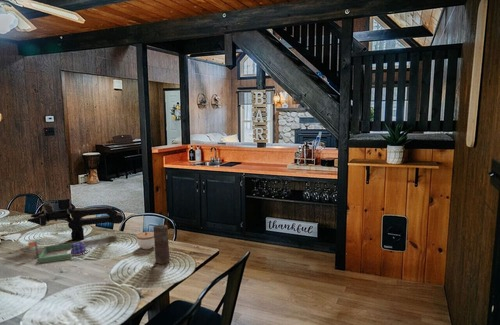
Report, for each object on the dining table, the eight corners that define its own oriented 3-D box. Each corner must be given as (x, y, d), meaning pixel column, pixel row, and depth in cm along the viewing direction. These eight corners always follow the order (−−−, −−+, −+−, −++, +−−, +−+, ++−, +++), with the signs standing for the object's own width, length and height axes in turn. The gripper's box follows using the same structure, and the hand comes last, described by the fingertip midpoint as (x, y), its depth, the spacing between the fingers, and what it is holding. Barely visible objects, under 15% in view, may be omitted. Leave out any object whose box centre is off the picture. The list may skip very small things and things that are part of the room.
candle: (152, 262, 182) (150, 226, 179) (161, 257, 189) (160, 222, 186) (163, 265, 179) (161, 228, 176) (172, 260, 185) (171, 224, 182)
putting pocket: (74, 246, 205) (73, 232, 204) (71, 258, 188) (69, 242, 187) (33, 252, 197) (31, 237, 196) (26, 264, 181) (24, 248, 179)
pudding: (84, 246, 206) (83, 238, 205) (94, 251, 199) (93, 242, 198) (63, 252, 197) (62, 244, 196) (72, 258, 189) (71, 249, 189)
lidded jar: (158, 244, 208) (158, 229, 207) (152, 251, 198) (151, 235, 197) (141, 243, 209) (140, 228, 208) (134, 250, 199) (133, 234, 198)
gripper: (59, 199, 220) (31, 201, 214) (55, 206, 202) (24, 209, 197) (61, 215, 221) (33, 218, 215) (57, 224, 204) (26, 227, 198)
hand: (29, 218), depth 206 cm, fingers open, 9 cm apart
